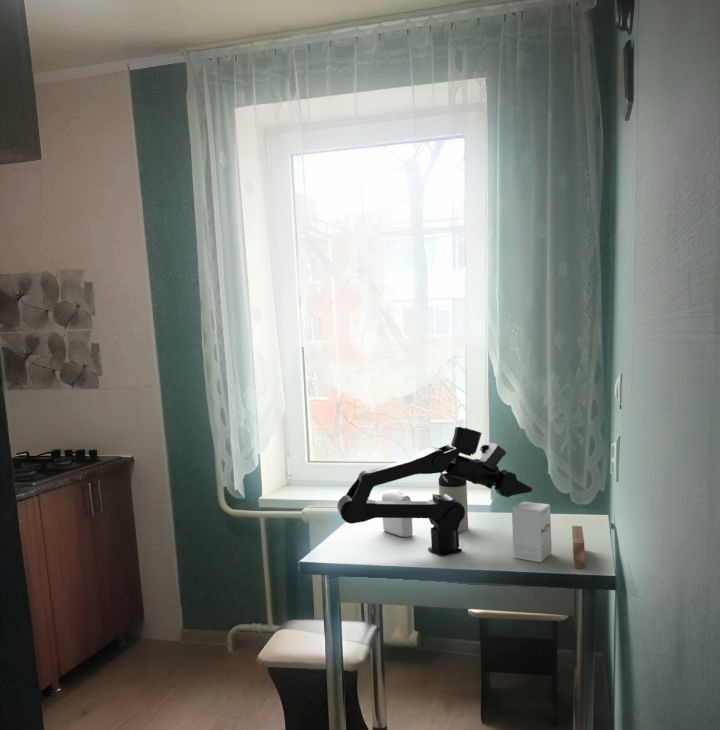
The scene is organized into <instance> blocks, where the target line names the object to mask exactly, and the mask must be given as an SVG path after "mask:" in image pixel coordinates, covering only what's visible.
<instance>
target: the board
mask: <svg viewBox="0 0 720 730" xmlns="http://www.w3.org/2000/svg"><path fill="white" fill-rule="evenodd" d="M571 532H572V533H571V536H572V538H571V539H572V552H573V553H572V556H573V566H574V567H573V568H574V569H579V568H585V569H586V553H585V552H586V551H585V548H586V547H585V539H584V532H583V526H582V525H572V526H571Z"/></svg>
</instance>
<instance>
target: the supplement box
mask: <svg viewBox="0 0 720 730" xmlns="http://www.w3.org/2000/svg"><path fill="white" fill-rule="evenodd" d="M511 517H512V518H511V519H512V524H511V525H512V549H513V550H512V552H513V558H515V559H520V560H525V561H530V562H537V563H542V562H543V561H545V559H546V558H548V557H549V556H551V555H552V554H553V552H552V551H553V550H552V525H551V504H549V503H540V502H539V503H538V502H530V501H522V502H520V503H518V504H516V505H515V506H513V507H511Z"/></svg>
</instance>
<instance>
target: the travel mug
mask: <svg viewBox="0 0 720 730" xmlns="http://www.w3.org/2000/svg"><path fill="white" fill-rule="evenodd" d="M441 473H442V472H441ZM441 473H440V475H439V477H438V495H444V494H447V495H449V496H450V497H452V498H454V499H455V500H456V501H458V502H459V503H461V504H462V505H463V507H464V509H465V516H464V518H463V520H462V521H461V522H460V525H459V528H458V532H460V533H464V532H466V531H468V529H469V513H468V507H469V506H468V489H467V488H468V487H467V486H468V485H467V480H463V479H460V478H456V477H453V476H452V480H451V483H448V482H446V481H445V480H444V478H443V476H442V475H441Z"/></svg>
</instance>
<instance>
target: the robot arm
mask: <svg viewBox="0 0 720 730" xmlns="http://www.w3.org/2000/svg"><path fill="white" fill-rule="evenodd" d="M482 434H483V433H482V432H480V431H477V430H474V429H471V428H468V427H462V426H458V425H456V426H455V428H454V433H453V437H452V440H451V443H447V444H445V445H442V446H439V447H434V446H431V447H428V448H426V449H424V450H421V451H420V452H418V453H416V454H415V455H413V456H412V457H410V458H408V459H407V458H406V459H405V460H400V461H397V462H393V463H390V464H386V465H383V466H379V467H375V468H372V469H366V470H362V471H361V472H360V473H359V474H358V477H357V478H356V480H355V481H354V483H352V485H351V486H350V488H349V489H348V491H347V492H346V494H345V495H343V496H342V497H340V499H339V500H338V501H337V511H338V513H339V515H340V517H341V519H343V521H344V522H345V523H347V524H357V523H363V522H368V521H370V520H373V519H379V518H380V519H383V518H412V519H428V520H429V522H430V524H431V525H433V527H431V528H430V538H431V539H430V541H431V542H430V543H431V547H428V548H427V549H428V551H429V552H432V553H434V554H437V555H439V556H441V557H446V556H449V555H454V554H457V553H461V552H463V549H462V548H460V535H459V534H460V533H459V532H458V528H459V525H460V522H461V521H462V520H463V518H464V516H465V509H464V507H463V505H462V504H461V503H459V502H458V501H456V500H455V499H454V498H452V497H450V496H449V495H447V494H444V495H439V494H436V493H433V494H431V496H432V499H430V500H425V501H421V500H420V501H417V500H415V501H414V500H413V501H412V500H411V501H382V500H373V499H370V498H369V497H370V495H371V493H372V490H373V489H374V487H377V486H380V485H383V484H386V483H390V482H394V481H397V480H401V479H404V478H408V477H411V476H414V475H432V474H439V473H440V475H442V476H443V478H444V480H445V481H446V482H448V483H451V480H452V476H453V477H456V478H460V479H463V480H466V482H470V483H472V484H475V485H479V486H484V487H486V488H488V489H489V490H490V489H492V488H493V487H494V490H495V492H496V493H497V494H498V495H500V496H502V497H505V498H510V497H512V496H516V495H521V494H527V493H531V492H532V490H533V488H532V487H531V486H529V485H527V484H525V483H523V482H522V481H520V480H518V478H517V474H516V473H515V472H513V471H510V470H508V469H500V466H498V464H499V463H500V462H501V460H502V459H503V457H505V456H506V454H507V451H506V450H505V449H504V448H502V447H501V446H500V445H499V444H498V443H494V442H490V443H489V444H481V446H480V448H479V450H480V451H481V457H480V459H478V458H475V459H474V458H469V457H471V456H472V455H473V456H474V454H476V453H477V450H478V447H479V443H480V440H481V438H482V437H481V436H482ZM460 454H462V455H460ZM463 455H465V456H463ZM466 456H469V457H466ZM441 472H442V473H441Z"/></svg>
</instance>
